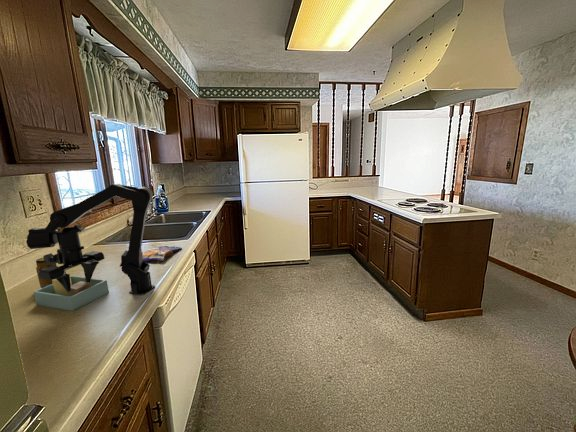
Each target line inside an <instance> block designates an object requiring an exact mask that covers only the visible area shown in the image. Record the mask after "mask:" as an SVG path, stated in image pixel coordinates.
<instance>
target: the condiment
mask: <svg viewBox="0 0 576 432" xmlns="http://www.w3.org/2000/svg"><path fill="white" fill-rule="evenodd" d="M35 262H36V263H35V264H36V268H35V270H36V274H37V277H38V283H39V287H40V288H37V289H36V290H35V291H37V290H39V289H41V288H44V287H46V286H49V285H51V284H53V282H52V280H48V279H41V278H39V274H38V273H39V271H40V270H41V269H44V268H47V267H49V266H57V265H58V264H57V263H56V264H55V265H52V263H50V264H45V262H44V258H43V257H41V258H37V259H36V260H35Z"/></svg>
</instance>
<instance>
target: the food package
mask: <svg viewBox="0 0 576 432" xmlns="http://www.w3.org/2000/svg"><path fill="white" fill-rule="evenodd" d="M182 250H183V248H182V247H180V246H179V247H178V246H176V245H174V246H168V245H165V246H157V247H152V248H150V249H147V250H145V251H142V256H143V261H144V262H146V263H157V264H160V263H162V262H164V261H166V260H169V258H171V257H172V256H173V255H174V254H177V253H178V252H180V251H182Z"/></svg>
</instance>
